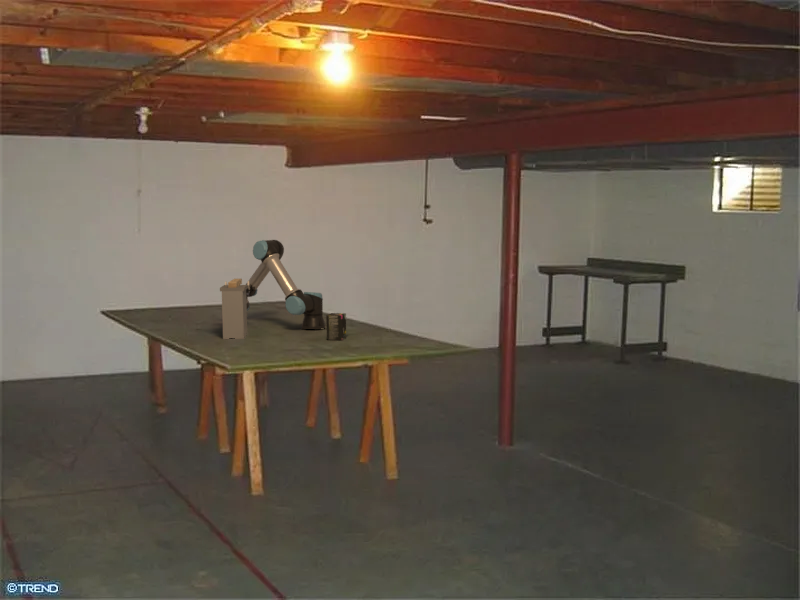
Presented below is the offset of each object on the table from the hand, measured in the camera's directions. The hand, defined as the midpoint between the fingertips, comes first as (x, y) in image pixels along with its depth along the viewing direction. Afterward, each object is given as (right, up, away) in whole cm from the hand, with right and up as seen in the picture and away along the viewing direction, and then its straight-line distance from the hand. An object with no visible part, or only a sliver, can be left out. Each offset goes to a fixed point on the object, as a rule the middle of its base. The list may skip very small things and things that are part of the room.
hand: (237, 283), depth 546 cm
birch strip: (+1, -2, -13) cm, 13 cm away
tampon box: (+63, -33, -28) cm, 76 cm away
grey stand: (+2, -32, -16) cm, 36 cm away
